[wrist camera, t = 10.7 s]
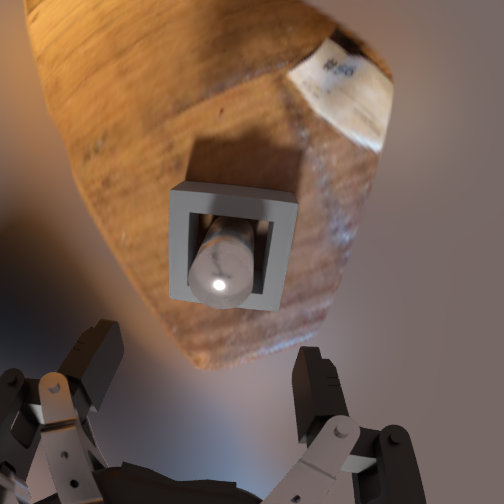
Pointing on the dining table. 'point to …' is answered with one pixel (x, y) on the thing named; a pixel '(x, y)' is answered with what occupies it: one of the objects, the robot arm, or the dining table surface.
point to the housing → (234, 205)
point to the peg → (224, 264)
